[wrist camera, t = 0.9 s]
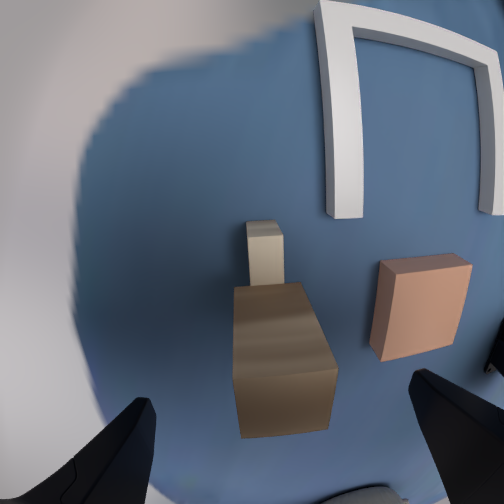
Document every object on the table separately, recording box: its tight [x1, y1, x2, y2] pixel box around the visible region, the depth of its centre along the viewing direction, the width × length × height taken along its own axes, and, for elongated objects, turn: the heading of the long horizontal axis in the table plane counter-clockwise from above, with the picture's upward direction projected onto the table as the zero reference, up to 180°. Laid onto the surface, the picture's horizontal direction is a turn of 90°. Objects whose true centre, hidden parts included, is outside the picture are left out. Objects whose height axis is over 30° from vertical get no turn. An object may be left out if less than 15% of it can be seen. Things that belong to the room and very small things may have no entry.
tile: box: [369, 253, 473, 362], centre depth 17 cm, size 6×6×2 cm
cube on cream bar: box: [233, 220, 339, 439], centre depth 13 cm, size 8×3×9 cm, turn 3°
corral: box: [313, 0, 504, 219], centre depth 13 cm, size 13×12×2 cm
